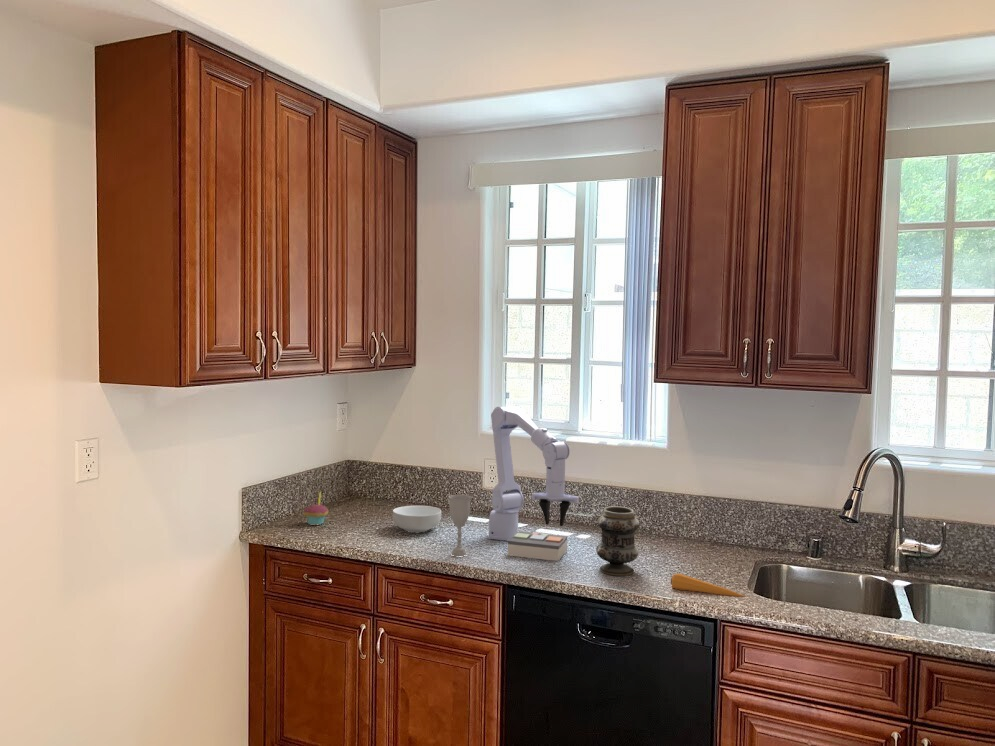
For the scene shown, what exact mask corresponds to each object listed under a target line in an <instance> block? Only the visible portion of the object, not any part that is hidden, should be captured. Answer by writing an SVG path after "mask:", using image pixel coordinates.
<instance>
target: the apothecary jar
mask: <svg viewBox="0 0 995 746" xmlns="http://www.w3.org/2000/svg"><path fill="white" fill-rule="evenodd" d="M597 524H598V527H599V528H600V529H601V538H600V542H599V543H598V545H597V546H596V548H595V551H596V554H597V555H598V557H599V558H601V559H602V560H603V561H605V562H608V563H606V564H603V565H601V566H600V567H599V571H600V572H601V573H603V574H605V575H610V576H614V577H615V576H616V577H624V576H631V575H633V574H634V571H635V570H634V568H632V567H631V566H629V565H628V563H631V562H633V561H635V560H636V559H637V558H638V556H639V549H638V548H637V546H636V545H635V535H636V534H635V533H636V531H637V530H638V529H639V527H640V521H639V519H638V518H637V517H636V516H635V511H634V509H632V508H631V507H626V506H620V505H619V506H618V505H613V506H612V505H610V506H606V507H604V510H603V513H602V515H600V516H599V518H598V520H597Z"/></svg>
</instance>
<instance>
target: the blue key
mask: <svg viewBox="0 0 995 746" xmlns="http://www.w3.org/2000/svg"><path fill="white" fill-rule="evenodd" d="M545 539H546V536H542V535H532V536H531V537H530V540H536V541H544V540H545Z"/></svg>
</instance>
